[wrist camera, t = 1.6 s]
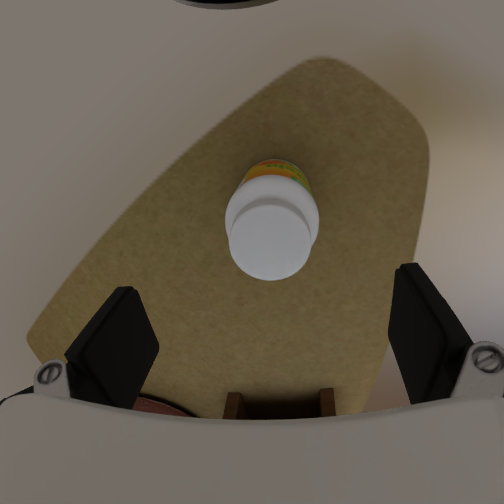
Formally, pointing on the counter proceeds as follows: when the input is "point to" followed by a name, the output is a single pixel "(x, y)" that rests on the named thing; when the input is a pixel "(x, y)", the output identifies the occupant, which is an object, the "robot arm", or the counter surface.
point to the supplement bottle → (272, 220)
